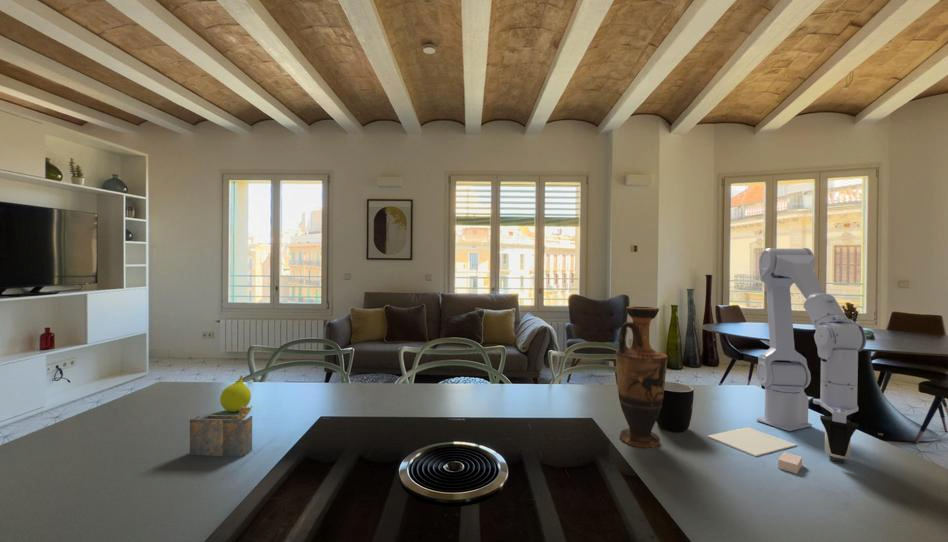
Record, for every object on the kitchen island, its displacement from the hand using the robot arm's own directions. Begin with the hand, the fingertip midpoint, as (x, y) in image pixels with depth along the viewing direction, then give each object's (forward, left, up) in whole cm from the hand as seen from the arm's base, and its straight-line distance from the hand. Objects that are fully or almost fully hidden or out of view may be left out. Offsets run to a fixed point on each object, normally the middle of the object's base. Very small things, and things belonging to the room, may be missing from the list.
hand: (837, 448), depth 87 cm
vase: (+30, -23, -3) cm, 38 cm away
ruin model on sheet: (+115, -51, -3) cm, 126 cm away
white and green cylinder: (0, 0, -3) cm, 2 cm away
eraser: (+12, -2, -3) cm, 12 cm away
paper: (+7, -13, -2) cm, 15 cm away
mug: (+16, -27, -3) cm, 32 cm away
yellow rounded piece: (+115, -78, -3) cm, 139 cm away
